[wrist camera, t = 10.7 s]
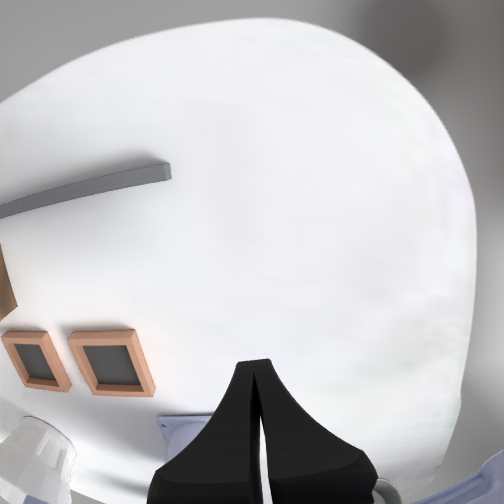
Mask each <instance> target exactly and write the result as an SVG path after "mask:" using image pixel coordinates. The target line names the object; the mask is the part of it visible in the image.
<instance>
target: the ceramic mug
mask: <svg viewBox="0 0 504 504" xmlns="http://www.w3.org/2000/svg"><path fill="white" fill-rule="evenodd" d="M372 495H373V498H374V501H375V503H374V504H403V502H402V498H401V496H400V494H399V492H398V491H397V489H396V488H395V487H394V486H393V485H392V484H391V483H390V482H389V481H387V480H385V479H381V478H378V479H377V482H376V485H375V487H374V489H373V492H372Z"/></svg>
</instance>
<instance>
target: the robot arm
mask: <svg viewBox="0 0 504 504" xmlns="http://www.w3.org/2000/svg"><path fill="white" fill-rule="evenodd" d="M260 416H261V420H262V425H263V430H264V434H265V441H266V453H267V467H268V479H269V485H270V491H271V496H272V502H273V504H374V503H375V501H374V498H373V495H372V492H373V489H374V487H375V485H376V482H377V479H378V475H377V472H376V470H375V468H374V466H373V464H372V463H371V461H370V460H369V458H368V457H367V455H366V454H365V453H364V451H362V450H360V449H358V448H356V447H354V446H352V445H350V444H349V443H347V442H345V441H343V440H342V439H340V438H338V437H337V436H335V435H334V434H332V433H331V432H330V431H328V430H327V429H326V428H324V427H323V426H322V425H320V424H319V423H318V422H317V421H315V420H314V419H313V418H312V417H311V416H310V415H309V414H308V413H307V412H306V411H305V410H304V409H303V408H302V407H301V406H300V405H299V404H298V403H297V402H296V400H295V399H294V398H293V397H292V396H291V394H290V393H289V392H288V390H287V389H286V387H285V386H284V385H283V383H282V382H281V380H280V378H279V377H278V375H277V373H276V371H275V369H274V367H273V365H272V362H271V360H270V359H260V360H251V361H242V362H238V363H237V364H236V368H235V371H234V374H233V377H232V379H231V382H230V384H229V386H228V388H227V391H226V393H225V395H224V397H223V399H222V400H221V402H220V404H219V406H218V407H217V409H216V411H215V412H214V414H213V415H212V416H180V417H162V416H161V417H158V419H157V423H158V425H159V427H160V429H161V431H162V433H163V435H164V437H165V439H166V441H167V443H168V450H167V455H166V460H165V465H163V466H162V467H160V468H159V469H158V470H156V472H155V474H154V476H153V479H152V482H151V484H150V487H149V492H148V497H147V503H146V504H263V494H262V483H261V473H260ZM164 424H165V425H164ZM23 504H49V503H47V502H45V501H43V500H40V499H37V498H35V497H32V496H30V495H26V498H25V500H24V502H23ZM411 504H504V449H503V450H502V451H500V452H499V453H497V454H495V455H494V456H492V457H491V458H489V459H488V460H487V461H486V462H485V463H484V464H483V466H482V467H481V468H480V470H479V471H478V472H477V473H475V474H473V475H471V476H470V477H468V478H466V479H464V480H462V481H460V482H458V483H456V484H454V485H452V486H450V487H448V488H446V489H444V490H442V491H440V492H437V493H435V494H433V495H431V496H428V497H426V498H424V499H422V500H419V501H417V502H414V503H411Z"/></svg>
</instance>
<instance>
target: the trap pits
mask: <svg viewBox="0 0 504 504" xmlns="http://www.w3.org/2000/svg"><path fill="white" fill-rule="evenodd" d="M1 339H2V342H3V344H4V346H5V348H6V350H7V352H8V354H9V357H10V359H11V361H12V363H13V365H14V367H15V368H16V370H17V372H18V374H19V376H20V378H21V380H22V381H23V383H24V385H25V387H30V388H36V389H43V390H50V391H58V392H68V391H69V389H70V388H71V386H72V384H71V382H70V380H69V378H68V376H67V374H66V372H65V370H64V367H63V365H62V363H61V361H60V359H59V357H58V355H57V352H56V350H55V348H54V346H53V343H52V341H51V339H50V336H49V334H48V332H15V331H7V332H6V333H4V334H3V335H2V336H1ZM67 340H68V343H69V345H70V347H71V350H72V352H73V354H74V357H75V359H76V361H77V363H78V365H79V368H80V370H81V372H82V374H83V376H84V378H85V380H86V382H87V384H88V386H89V388H90V390H91V392H92V394H93V395H103V396H123V397H153V395H154V392H155V389H156V387H155V385H154V382H153V379H152V377H151V374H150V371H149V368H148V366H147V363H146V360H145V357H144V354H143V351H142V349H141V346H140V343H139V340H138V336H137V333H136V330H121V331H92V332H73V333H72V334H71V335H70V336H69V338H68V339H67Z"/></svg>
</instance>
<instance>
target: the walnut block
mask: <svg viewBox="0 0 504 504" xmlns="http://www.w3.org/2000/svg"><path fill="white" fill-rule="evenodd" d="M17 306H18V305H17V302H16V299H15V296H14V293H13V290H12V287H11V283H10V280H9V277H8V273H7V269H6V266H5V262H4V258H3V254H2V250H1V245H0V321H1V320H2V319H3V318H4V317H6V316H7V315H8V314H9V313H10V312H11V311H13V310H14V309H15V308H16V307H17Z"/></svg>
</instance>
